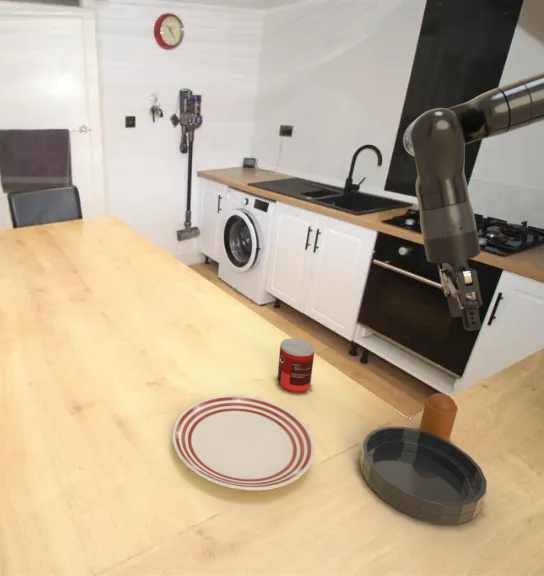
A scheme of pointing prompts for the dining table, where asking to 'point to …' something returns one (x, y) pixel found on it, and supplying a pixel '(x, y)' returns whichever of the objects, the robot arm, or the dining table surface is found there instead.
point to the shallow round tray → (423, 475)
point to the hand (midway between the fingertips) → (465, 322)
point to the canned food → (295, 365)
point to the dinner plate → (243, 442)
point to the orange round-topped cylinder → (439, 415)
